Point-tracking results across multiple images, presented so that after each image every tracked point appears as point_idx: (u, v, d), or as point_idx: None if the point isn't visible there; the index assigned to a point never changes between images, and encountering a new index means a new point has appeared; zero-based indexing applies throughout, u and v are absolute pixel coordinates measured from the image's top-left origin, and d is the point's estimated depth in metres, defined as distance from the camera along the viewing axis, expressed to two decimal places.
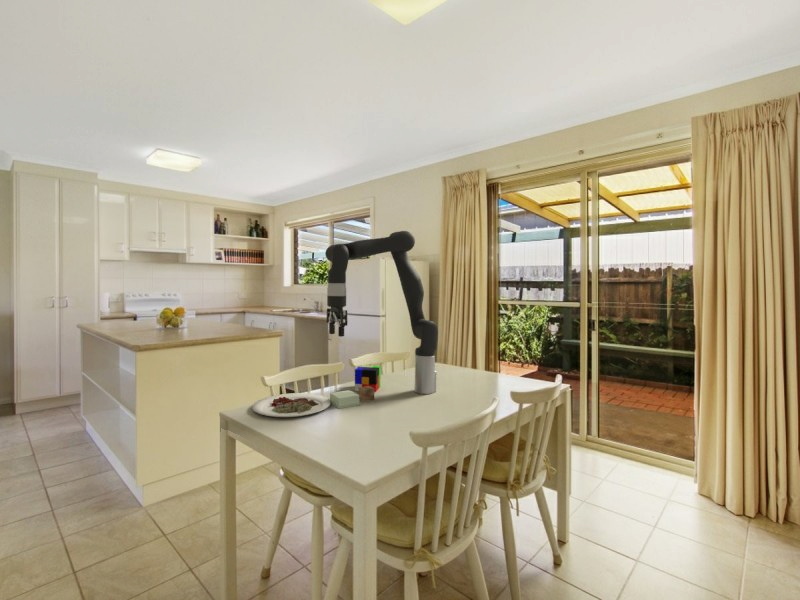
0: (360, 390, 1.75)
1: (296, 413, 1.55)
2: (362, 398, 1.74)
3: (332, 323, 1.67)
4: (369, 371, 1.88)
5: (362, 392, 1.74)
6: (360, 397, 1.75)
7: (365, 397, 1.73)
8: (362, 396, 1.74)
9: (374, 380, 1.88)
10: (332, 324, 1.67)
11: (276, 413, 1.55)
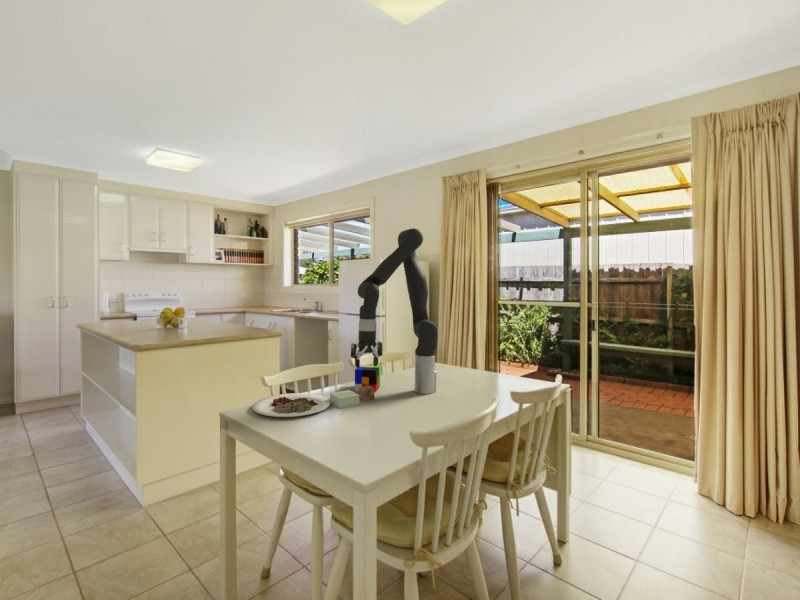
0: (360, 390, 1.75)
1: (296, 413, 1.55)
2: (362, 398, 1.74)
3: None
4: (369, 371, 1.88)
5: (362, 392, 1.74)
6: (360, 397, 1.75)
7: (365, 397, 1.73)
8: (362, 396, 1.74)
9: (374, 380, 1.88)
10: None
11: (276, 413, 1.55)
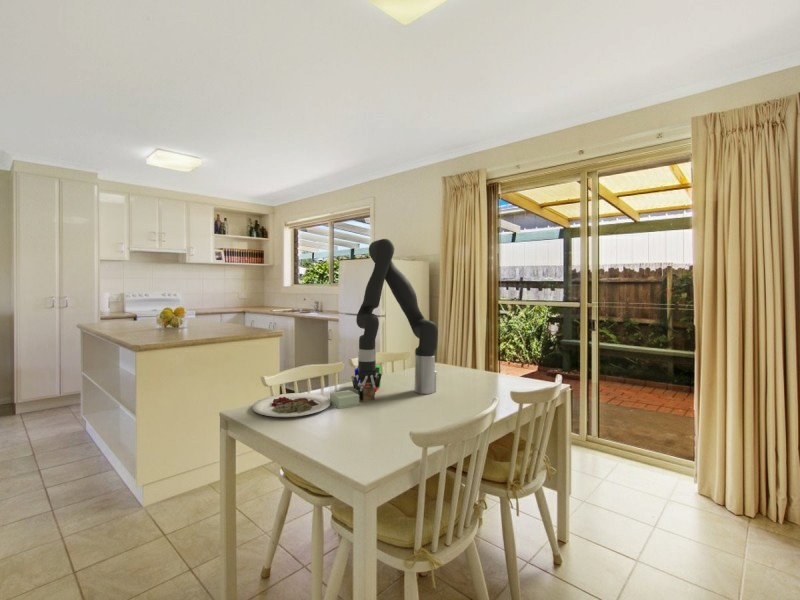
0: None
1: (296, 413, 1.55)
2: None
3: None
4: None
5: None
6: None
7: (365, 397, 1.73)
8: None
9: (374, 380, 1.88)
10: None
11: (276, 413, 1.55)
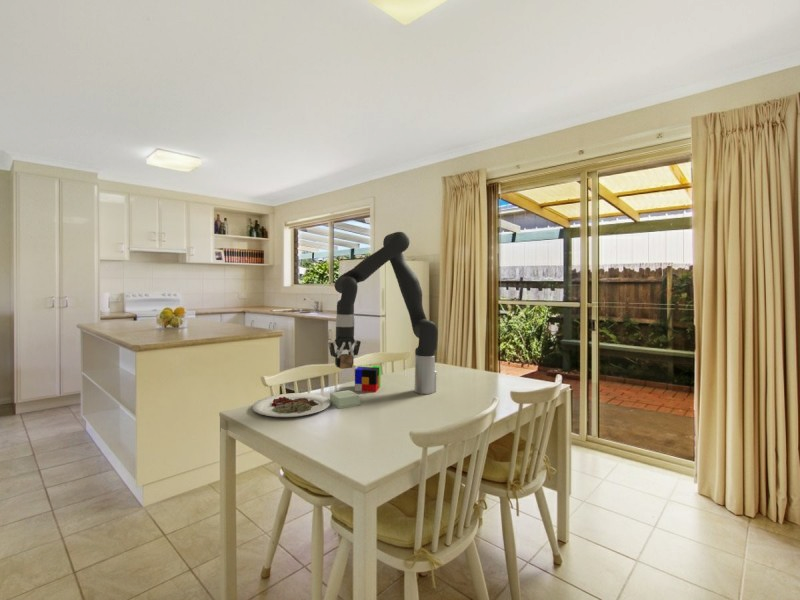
0: None
1: (296, 413, 1.55)
2: None
3: None
4: (369, 371, 1.88)
5: None
6: None
7: (342, 364, 1.65)
8: (340, 363, 1.66)
9: (374, 380, 1.88)
10: None
11: (276, 413, 1.55)
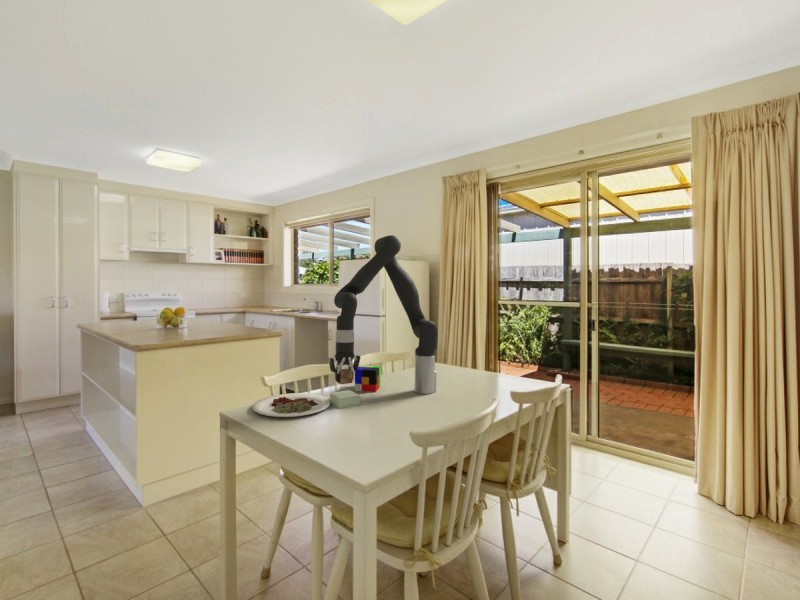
0: None
1: (296, 413, 1.55)
2: None
3: None
4: (369, 371, 1.88)
5: None
6: None
7: (342, 379, 1.66)
8: (340, 378, 1.66)
9: (374, 380, 1.88)
10: None
11: (276, 413, 1.55)
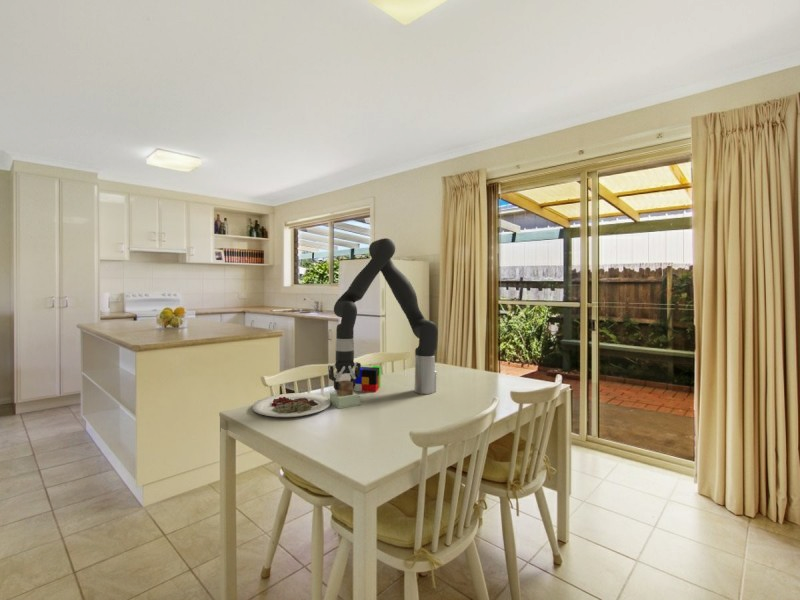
0: None
1: (296, 413, 1.55)
2: (340, 392, 1.67)
3: None
4: (369, 371, 1.88)
5: (340, 386, 1.67)
6: (338, 391, 1.68)
7: (343, 391, 1.66)
8: (340, 390, 1.67)
9: (374, 380, 1.88)
10: None
11: (276, 413, 1.55)
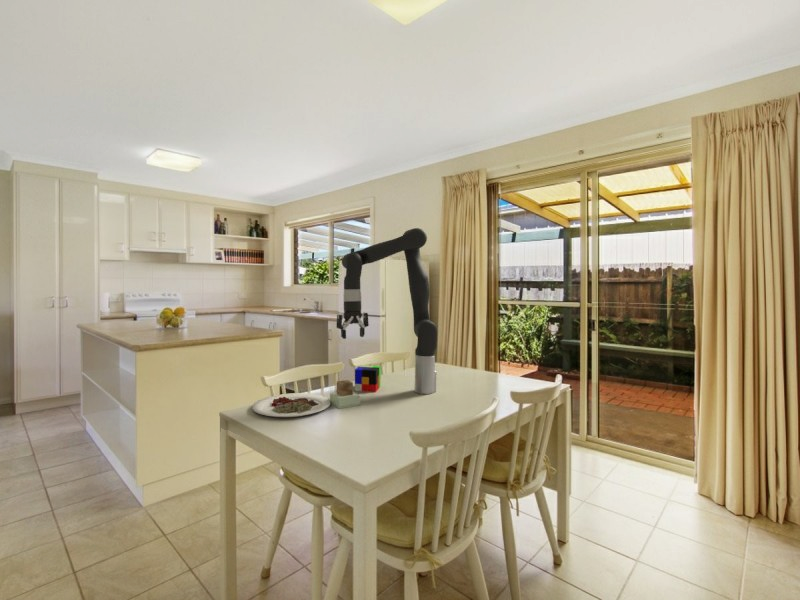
0: (338, 384, 1.68)
1: (296, 413, 1.55)
2: (340, 392, 1.67)
3: None
4: (369, 371, 1.88)
5: (340, 386, 1.67)
6: (338, 391, 1.68)
7: (343, 391, 1.66)
8: (340, 390, 1.67)
9: (374, 380, 1.88)
10: None
11: (276, 413, 1.55)
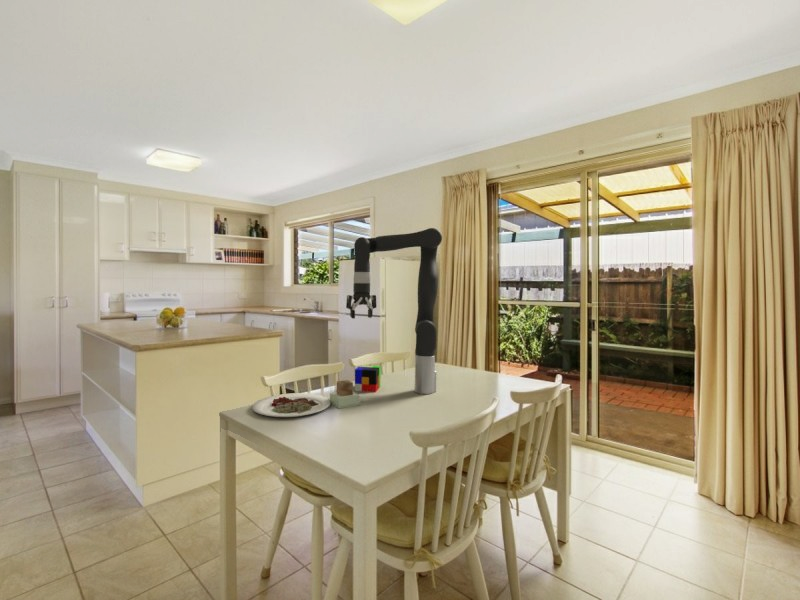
0: (338, 384, 1.68)
1: (296, 413, 1.55)
2: (340, 392, 1.67)
3: None
4: (369, 371, 1.88)
5: (340, 386, 1.67)
6: (338, 391, 1.68)
7: (343, 391, 1.66)
8: (340, 390, 1.67)
9: (374, 380, 1.88)
10: None
11: (276, 413, 1.55)
